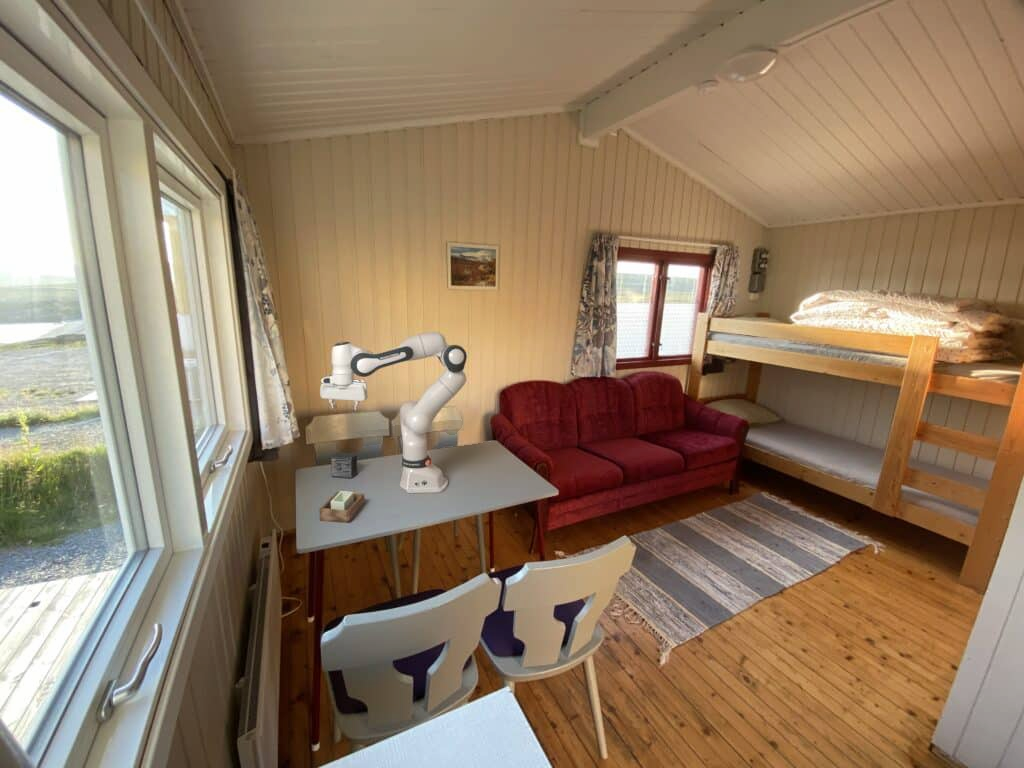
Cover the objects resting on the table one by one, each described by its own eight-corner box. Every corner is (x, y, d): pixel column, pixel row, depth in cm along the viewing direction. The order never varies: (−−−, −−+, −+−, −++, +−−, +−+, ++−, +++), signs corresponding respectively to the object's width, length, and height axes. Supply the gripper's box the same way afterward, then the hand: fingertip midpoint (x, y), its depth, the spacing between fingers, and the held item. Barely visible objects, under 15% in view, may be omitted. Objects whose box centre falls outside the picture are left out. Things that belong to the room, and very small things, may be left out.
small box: (358, 473, 212) (357, 453, 210) (352, 479, 206) (351, 458, 204) (337, 471, 213) (336, 451, 211) (331, 477, 207) (330, 456, 204)
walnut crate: (364, 504, 184) (364, 493, 183) (349, 523, 169) (349, 511, 168) (337, 502, 184) (336, 491, 183) (320, 520, 170) (319, 509, 169)
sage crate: (354, 504, 181) (353, 492, 179) (344, 516, 172) (344, 502, 171) (341, 503, 181) (340, 491, 180) (331, 515, 172) (330, 501, 171)
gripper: (369, 378, 190) (370, 408, 194) (324, 376, 191) (326, 405, 194) (363, 381, 184) (364, 412, 187) (317, 379, 185) (319, 409, 188)
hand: (344, 409), depth 191 cm, fingers open, 8 cm apart
